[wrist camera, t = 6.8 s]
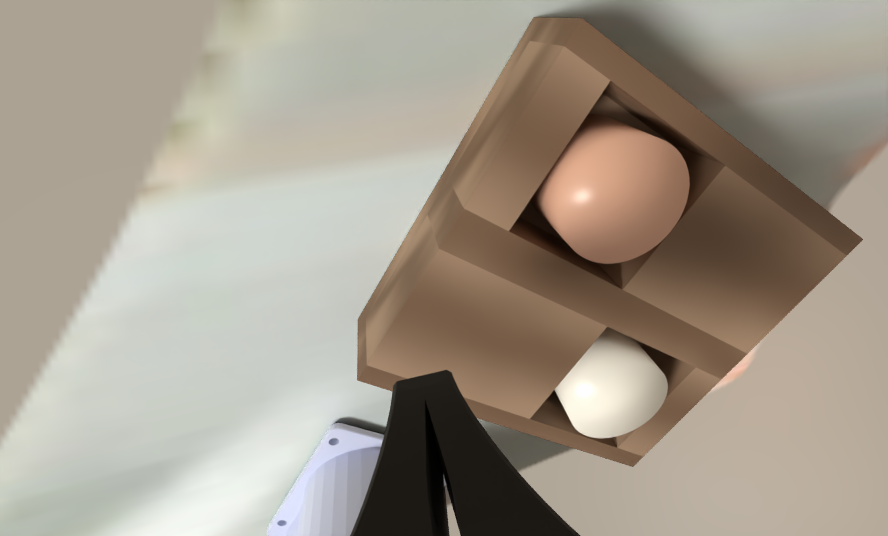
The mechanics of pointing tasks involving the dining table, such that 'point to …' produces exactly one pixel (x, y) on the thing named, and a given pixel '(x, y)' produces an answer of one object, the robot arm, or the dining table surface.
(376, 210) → the dining table surface
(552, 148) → the wooden egg crate
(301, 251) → the dining table surface
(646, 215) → the peach egg
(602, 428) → the knob cream
